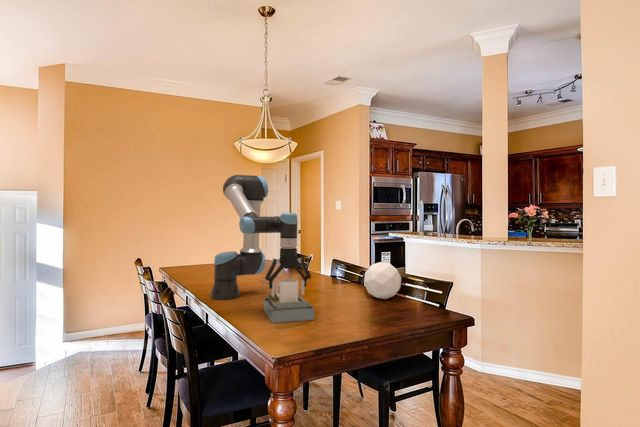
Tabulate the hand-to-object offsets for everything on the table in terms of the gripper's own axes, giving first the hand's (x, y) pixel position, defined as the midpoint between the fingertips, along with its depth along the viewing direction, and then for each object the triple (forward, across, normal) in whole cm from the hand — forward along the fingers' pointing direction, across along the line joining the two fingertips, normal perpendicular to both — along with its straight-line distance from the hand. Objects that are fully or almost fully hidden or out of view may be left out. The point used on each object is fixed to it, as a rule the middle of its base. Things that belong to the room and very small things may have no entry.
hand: (287, 295), depth 175 cm
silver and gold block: (+9, 0, 0) cm, 9 cm away
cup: (+4, -1, 0) cm, 4 cm away
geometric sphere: (+9, +56, +19) cm, 60 cm away
